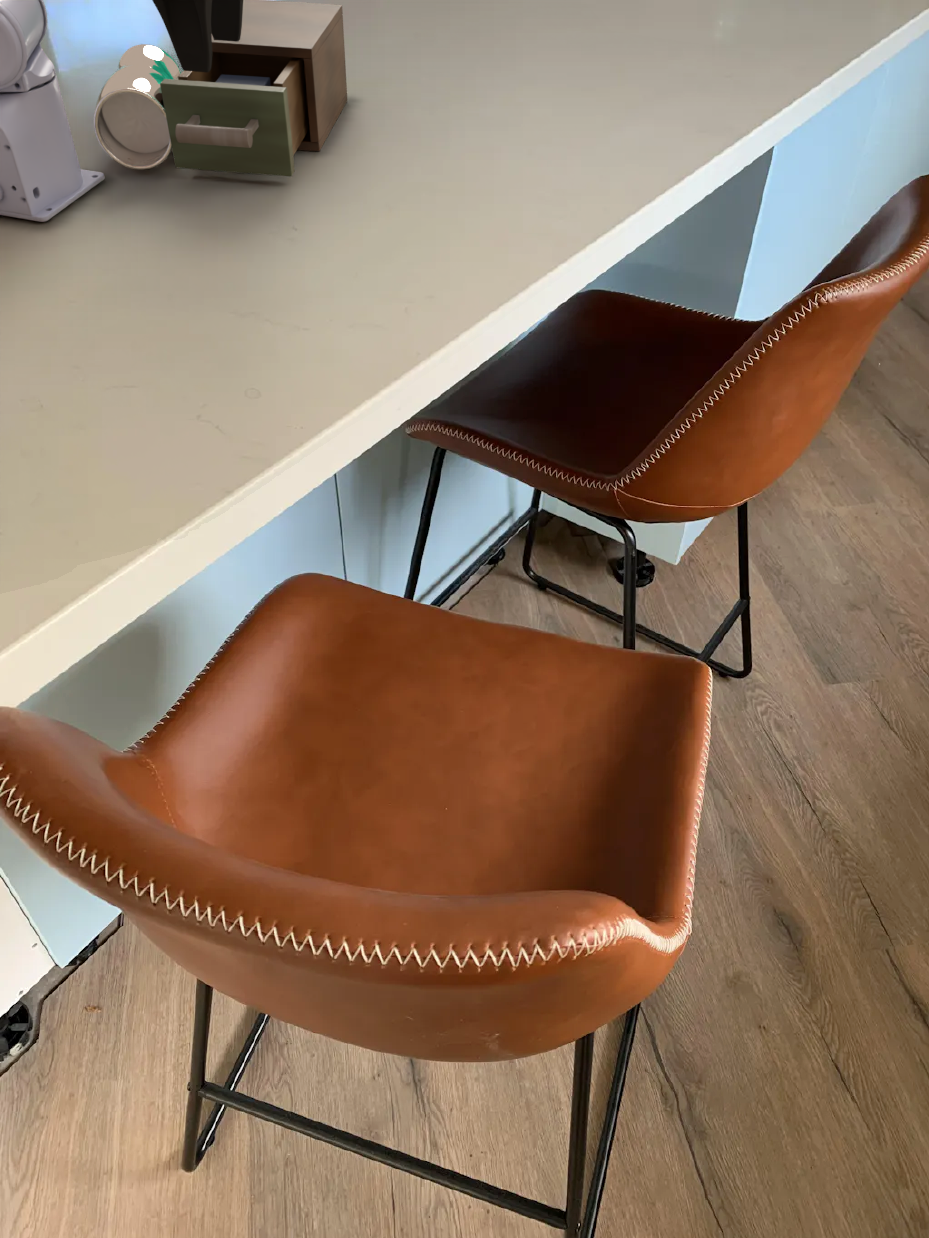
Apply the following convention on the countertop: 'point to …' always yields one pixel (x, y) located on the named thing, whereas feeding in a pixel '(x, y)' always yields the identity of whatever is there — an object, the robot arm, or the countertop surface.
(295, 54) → the cabinet
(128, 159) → the beige cup
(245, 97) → the drawer
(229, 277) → the countertop surface
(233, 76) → the block
